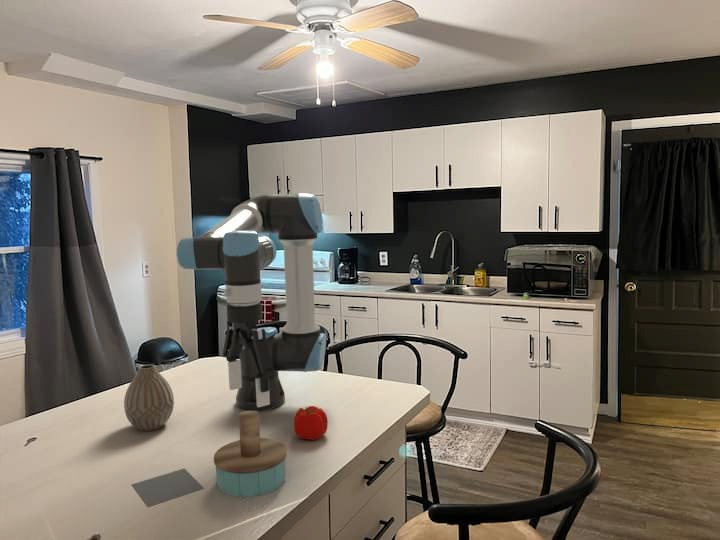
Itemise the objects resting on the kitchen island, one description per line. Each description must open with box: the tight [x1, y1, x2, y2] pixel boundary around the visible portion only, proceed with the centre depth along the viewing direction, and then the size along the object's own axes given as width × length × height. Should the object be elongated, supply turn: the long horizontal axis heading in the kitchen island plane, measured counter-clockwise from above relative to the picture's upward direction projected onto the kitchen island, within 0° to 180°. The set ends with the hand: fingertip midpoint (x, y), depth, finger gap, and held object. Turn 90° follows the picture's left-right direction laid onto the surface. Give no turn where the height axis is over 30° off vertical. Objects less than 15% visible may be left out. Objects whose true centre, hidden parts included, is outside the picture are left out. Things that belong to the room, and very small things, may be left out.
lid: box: [213, 410, 288, 474], centre depth 124 cm, size 16×16×10 cm
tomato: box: [293, 405, 329, 441], centre depth 148 cm, size 9×9×8 cm
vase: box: [123, 363, 175, 432], centre depth 157 cm, size 13×13×18 cm
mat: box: [131, 468, 205, 508], centre depth 123 cm, size 12×12×1 cm
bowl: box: [215, 458, 287, 498], centre depth 125 cm, size 15×15×6 cm
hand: (248, 396), depth 124 cm, fingers open, 13 cm apart
